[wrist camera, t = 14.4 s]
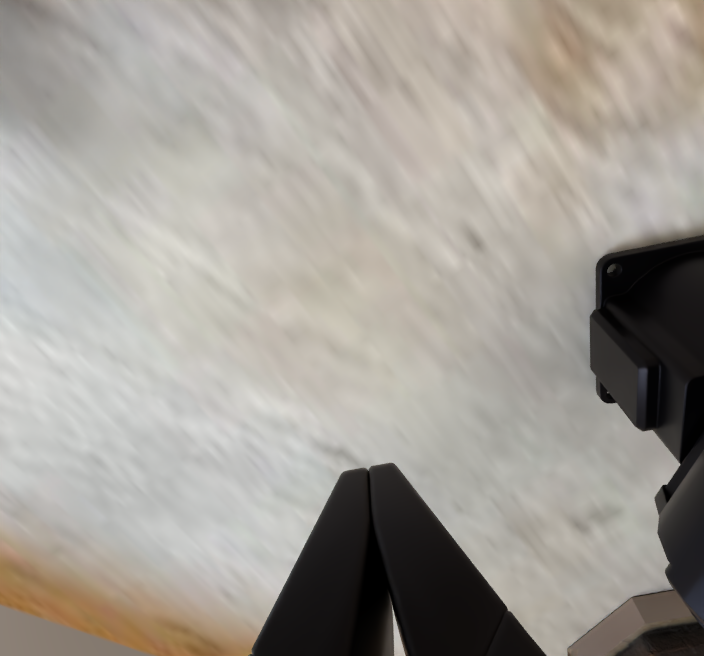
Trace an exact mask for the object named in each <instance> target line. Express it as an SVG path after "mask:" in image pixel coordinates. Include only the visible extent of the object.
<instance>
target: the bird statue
mask: <svg viewBox="0 0 704 656" xmlns="http://www.w3.org/2000/svg"><path fill="white" fill-rule="evenodd" d="M568 656H704V628H703V627H702V626H701V625H700V624H699V622H698V621H697V620H696V619H695V618H694V616H693V615H692V614H691V612H690V610H689V609H688V607H687V606H686V605H685V604H684V602H683V601H682V599H681V598H680V597H679V595H678V594H677V593H676V591H675V590H673V591H667V592H662V593H656V594H650V595H644V596H639V597H633V598H631V599H629V600H628V601H627V602H626V603H624V604H623V605H622V606H621V607H619V608H618V609H617V610H616V611H614V612H613V613H612V614H611V615H609V616H608V617H607V618H606V619H604V620H603V621H602V622H601V623H599V624H598V625H597V626H596V627H594V628H593V629H592V630H591V631H589V632H588V633H587V634H586V635H584V636H583V637H582V638H581V639H579V640H578V641H577V642H576V643H574V644H573V645H572V646H571V647H569V648H568Z"/></svg>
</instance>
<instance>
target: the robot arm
mask: <svg viewBox="0 0 704 656" xmlns="http://www.w3.org/2000/svg"><path fill="white" fill-rule="evenodd" d="M612 264H616V268H615V269H614V270H613V271H612V272H610V273H607V270H608V268H609V266H610V265H612ZM590 367H591V370H592V371H593V373H594V374H595V375H596V391H597V394H598V396H599V397H600V398H601V400H602V401H603V402H605V403H617V404H618V405H619V406H620V408H621V409H622V410H623V411H624V413H625V414H626V415H627V417H628V418H629V419H630V420H631V422H632V423H633V424H634V426H635V427H637V428H638V429H640V430H641V431H648V430H653V431H654V432H655V433H656V434H657V436H658V437H659V438H660V439H661V441H662V442H663V443H664V444H665V446H666V447H667V448H668V449H669V450H670V452H671V453H672V454H673V455H674V457H675V458H676V459H677V460H678V462H679V463H680V464H681V465H680V467H679V468H678V470H677V471H676V473H675V474H674V476H673V477H672V479H671V480H670V482H669V483H668V485H663V486H662V487H661V489H660V490H659V492H658V493H657V495H656V496H655V503H656V506H657V510H658V514H659V524H658V535H659V538H660V541H661V543H662V546H663V549H664V551H665V554H666V557H667V559H668V561H669V562H670V563H669V565H668V566H667V568H666V569H665V574H666V576H667V578H668V580H669V583H670V584H671V586H672V587H673V589H674V590H675V591H676V593H677V594H678V595H679V597H680V598H681V599H682V601H683V602H684V604H685V605H686V606H687V607H688V609H689V610H690V612H691V614H692V615H693V616H694V618H695V619H696V620H697V621H698V622H699V624H700V625H701V626H702V627H703V628H704V235H702V236H697V237H692V238H687V239H682V240H677V241H672V242H667V243H661V244H656V245H651V246H646V247H641V248H636V249H631V250H626V251H621V252H616V253H611V254H607V255H605V256H603V257H602V258H601V259H600V260H599V261H598V263H597V266H596V310H594V311H593V313H592V314H591V316H590ZM607 391H608V392H609V393H607ZM392 606H393V610H394V614H395V618H396V622H397V626H398V629H399V633H400V637H401V640H402V644H403V648H404V651H405V655H406V656H546V654H545V653H544V652H543V651H542V650H541V648H540V647H539V646H538V645H537V644H536V642H535V641H534V640H533V639H532V638H531V636H530V635H529V634H528V633H527V632H526V630H525V629H524V628H523V627H522V625H521V624H520V623H519V621H518V620H517V619H516V618H515V616H514V615H513V614H512V613H511V612H510V611H508V609H507V607H506V605H505V604H504V603H503V601H502V600H501V599H500V598H499V596H498V595H497V594H496V592H495V591H494V590H493V589H492V587H491V586H490V585H489V584H488V582H487V581H486V580H485V578H484V577H483V576H482V575H481V573H480V572H479V571H478V569H477V568H476V567H475V566H474V564H473V563H472V562H471V561H470V559H469V558H468V557H467V555H466V554H465V553H464V552H463V550H462V549H461V548H460V546H459V545H458V544H457V543H456V541H455V540H454V539H453V538H452V536H451V535H450V534H449V532H448V531H447V530H446V529H445V527H444V526H443V525H442V523H441V522H440V521H439V520H438V518H437V517H436V516H435V514H434V513H433V512H432V511H431V509H430V508H429V507H428V506H427V504H426V503H425V502H424V500H423V499H422V498H421V497H420V495H419V494H418V493H417V491H416V490H415V489H414V488H413V486H412V485H411V484H410V483H409V481H408V480H407V479H406V477H405V476H404V475H403V474H402V472H401V471H400V470H399V468H398V467H397V466H396V465H395V464H394V463H386V464H381V465H375V466H371V467H370V469H369V471H368V470H367V469H366V468H359V469H354V470H348V471H344V472H343V473H342V474H341V475H340V477H339V479H338V481H337V483H336V485H335V487H334V489H333V491H332V493H331V495H330V497H329V499H328V501H327V503H326V505H325V507H324V509H323V511H322V513H321V515H320V516H319V518H318V520H317V522H316V524H315V526H314V528H313V530H312V532H311V534H310V536H309V538H308V540H307V542H306V544H305V546H304V548H303V550H302V552H301V554H300V556H299V558H298V560H297V562H296V564H295V565H294V567H293V569H292V571H291V573H290V575H289V577H288V579H287V581H286V583H285V585H284V587H283V589H282V591H281V593H280V595H279V597H278V599H277V601H276V603H275V605H274V607H273V609H272V611H271V613H270V614H269V616H268V618H267V620H266V622H265V624H264V626H263V628H262V630H261V632H260V634H259V636H258V638H257V640H256V642H255V644H254V646H253V648H252V654H250V655H248V656H394V635H393V611H392Z"/></svg>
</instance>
